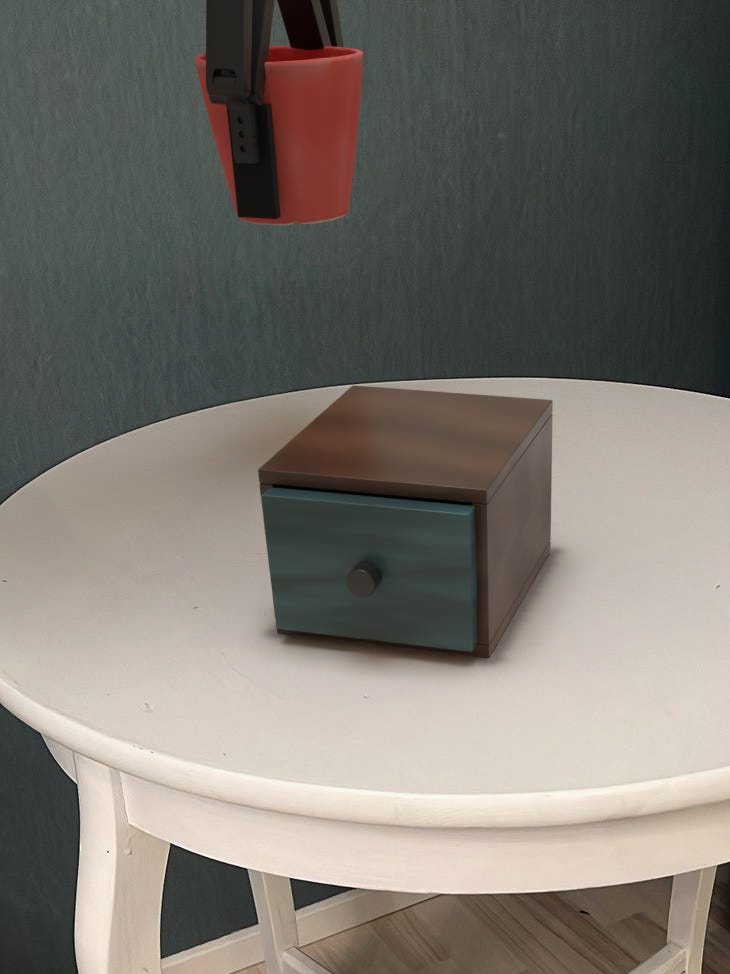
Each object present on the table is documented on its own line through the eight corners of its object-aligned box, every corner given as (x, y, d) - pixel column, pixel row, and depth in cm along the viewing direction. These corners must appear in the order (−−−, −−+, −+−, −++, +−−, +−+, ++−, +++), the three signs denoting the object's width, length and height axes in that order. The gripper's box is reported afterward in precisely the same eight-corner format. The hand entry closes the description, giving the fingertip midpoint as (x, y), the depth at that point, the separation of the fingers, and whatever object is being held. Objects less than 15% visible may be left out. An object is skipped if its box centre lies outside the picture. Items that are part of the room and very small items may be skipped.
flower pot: (191, 209, 95) (172, 49, 89) (336, 194, 99) (326, 40, 93) (241, 238, 87) (224, 64, 81) (396, 221, 91) (389, 54, 85)
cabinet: (489, 658, 74) (486, 489, 68) (276, 632, 77) (257, 469, 71) (550, 551, 85) (552, 399, 80) (363, 533, 88) (352, 384, 83)
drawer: (465, 662, 72) (462, 523, 67) (267, 639, 74) (251, 503, 70) (532, 552, 83) (533, 426, 79) (358, 534, 86) (349, 412, 81)
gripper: (236, -223, 70) (277, 239, 83) (382, -204, 87) (396, 174, 100) (106, -220, 71) (166, 233, 84) (274, -202, 89) (302, 170, 102)
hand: (291, 201), depth 92 cm, fingers closed on flower pot, 10 cm apart
